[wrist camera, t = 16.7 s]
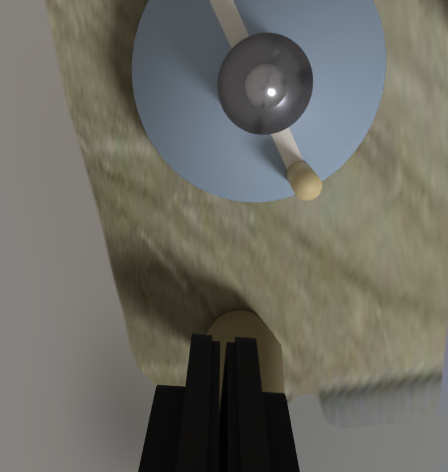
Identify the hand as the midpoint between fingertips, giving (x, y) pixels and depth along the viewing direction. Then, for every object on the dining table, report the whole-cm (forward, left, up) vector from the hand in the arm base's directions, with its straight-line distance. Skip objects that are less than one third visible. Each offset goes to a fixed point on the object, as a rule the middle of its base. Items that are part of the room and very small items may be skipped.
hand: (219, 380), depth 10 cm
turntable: (-7, +2, -24) cm, 25 cm away
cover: (-7, +2, -22) cm, 23 cm away
